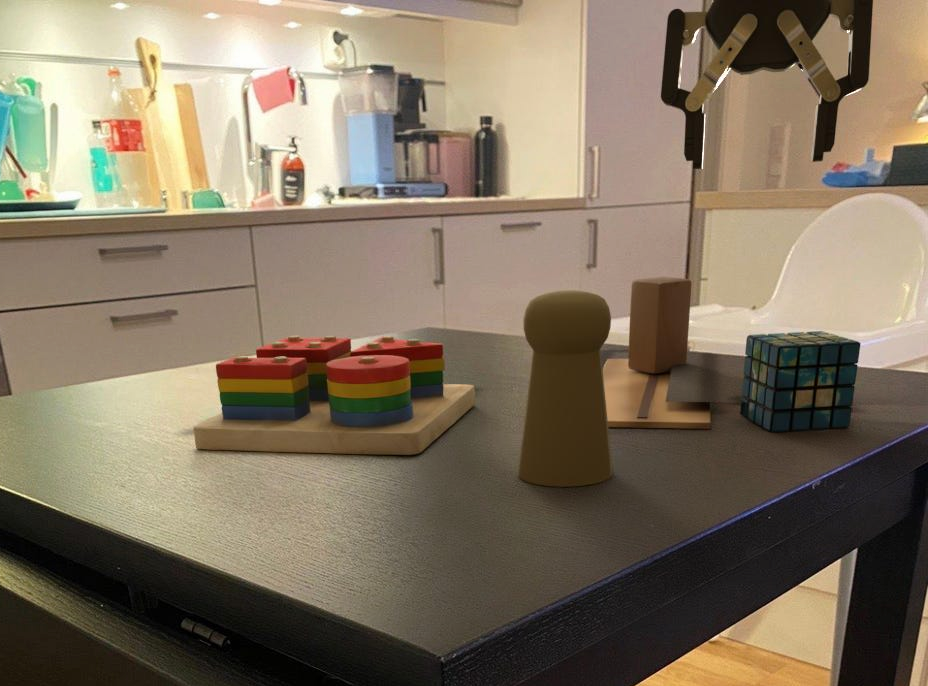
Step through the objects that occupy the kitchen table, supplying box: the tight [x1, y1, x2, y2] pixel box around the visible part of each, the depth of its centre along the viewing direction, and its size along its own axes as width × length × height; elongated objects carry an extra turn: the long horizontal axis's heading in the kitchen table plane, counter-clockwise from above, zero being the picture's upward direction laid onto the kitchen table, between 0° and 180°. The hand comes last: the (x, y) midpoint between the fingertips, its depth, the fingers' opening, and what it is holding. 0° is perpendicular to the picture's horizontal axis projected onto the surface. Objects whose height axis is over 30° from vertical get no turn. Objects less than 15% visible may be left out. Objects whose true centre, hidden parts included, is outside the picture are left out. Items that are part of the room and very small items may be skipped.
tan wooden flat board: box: [602, 358, 712, 430], centre depth 85 cm, size 10×28×1 cm, turn 166°
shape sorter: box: [193, 335, 476, 456], centre depth 76 cm, size 18×17×6 cm
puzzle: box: [739, 330, 861, 433], centre depth 71 cm, size 6×6×6 cm
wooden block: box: [627, 276, 692, 374], centre depth 89 cm, size 4×4×8 cm
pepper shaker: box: [517, 289, 614, 488], centre depth 60 cm, size 6×6×11 cm
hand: (755, 165), depth 73 cm, fingers open, 8 cm apart
